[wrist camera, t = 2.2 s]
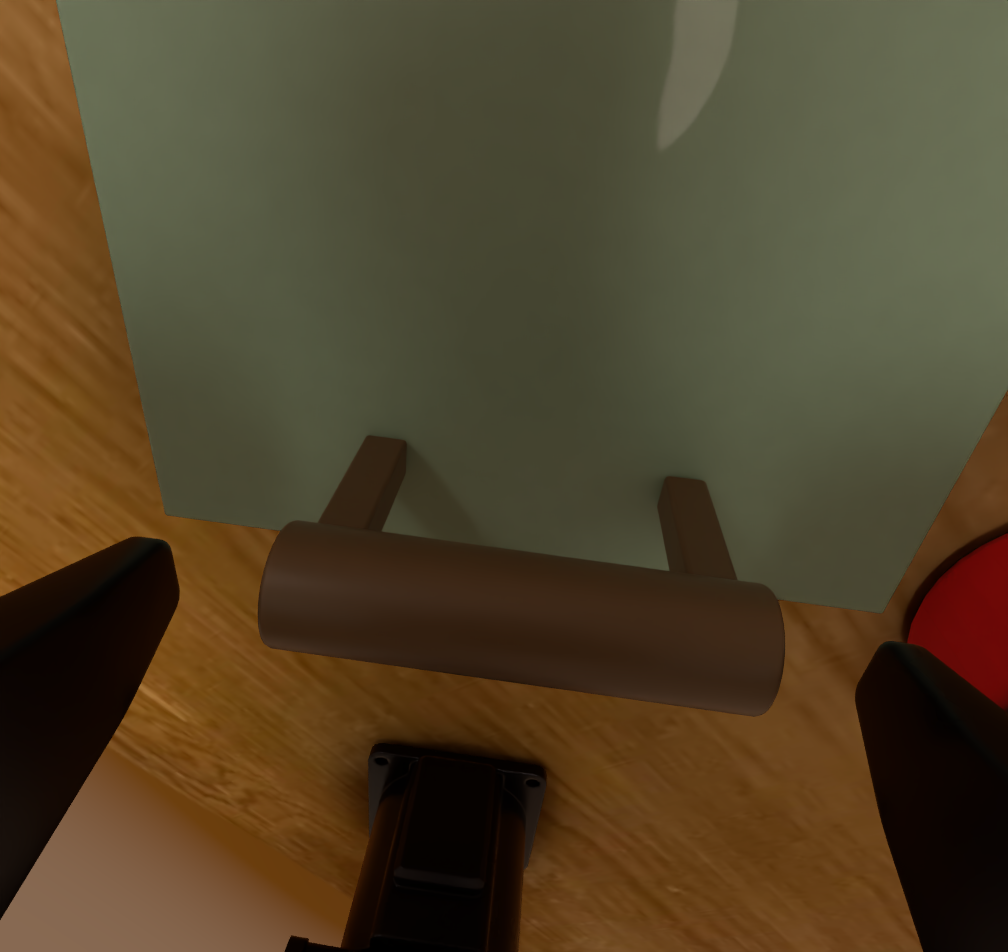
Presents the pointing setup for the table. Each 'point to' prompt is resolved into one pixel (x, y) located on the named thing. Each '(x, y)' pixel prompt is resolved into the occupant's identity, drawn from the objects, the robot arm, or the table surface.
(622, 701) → the table surface
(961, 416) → the lid
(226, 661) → the table surface
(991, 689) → the soda can
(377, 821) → the robot arm
